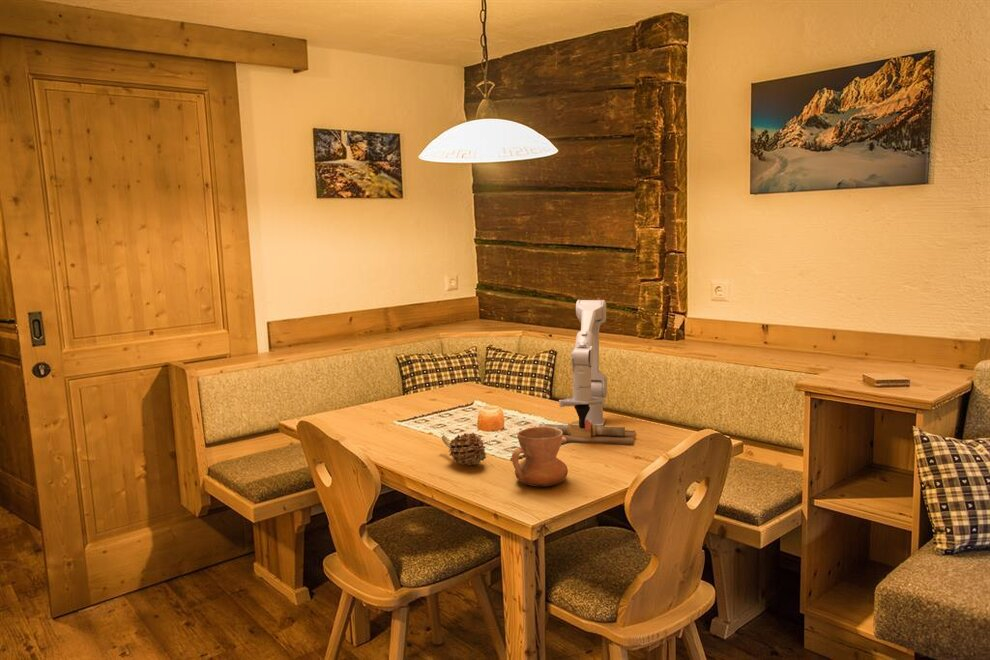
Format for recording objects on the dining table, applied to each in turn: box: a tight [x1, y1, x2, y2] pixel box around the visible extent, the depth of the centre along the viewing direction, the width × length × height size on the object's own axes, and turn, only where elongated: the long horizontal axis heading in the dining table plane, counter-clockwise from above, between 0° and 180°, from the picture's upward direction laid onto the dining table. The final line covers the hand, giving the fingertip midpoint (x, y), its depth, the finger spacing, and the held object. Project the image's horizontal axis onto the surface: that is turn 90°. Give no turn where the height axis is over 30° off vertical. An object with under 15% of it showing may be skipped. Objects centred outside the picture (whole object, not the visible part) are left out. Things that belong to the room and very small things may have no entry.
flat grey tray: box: [538, 419, 636, 446], centre depth 244 cm, size 14×34×5 cm, turn 77°
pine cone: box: [441, 432, 487, 466], centre depth 221 cm, size 22×10×10 cm, turn 39°
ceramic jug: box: [511, 426, 569, 488], centre depth 202 cm, size 18×14×14 cm
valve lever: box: [584, 418, 591, 429], centre depth 239 cm, size 11×2×2 cm, turn 4°
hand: (582, 427), depth 235 cm, fingers closed, pressing on valve lever
